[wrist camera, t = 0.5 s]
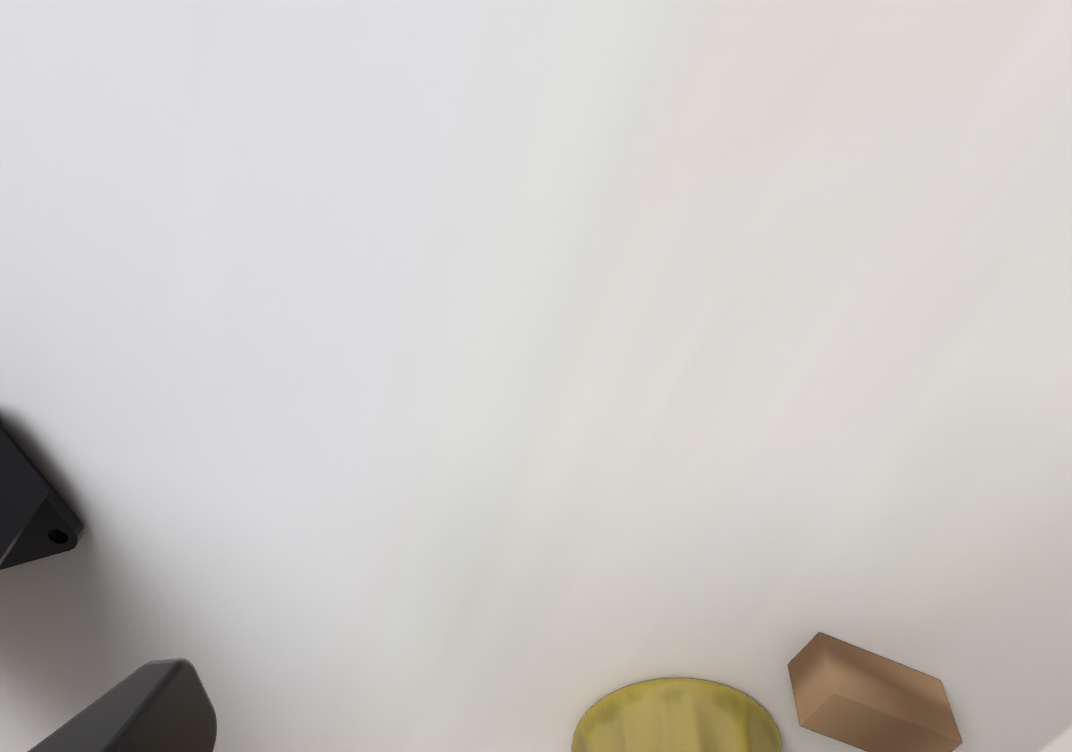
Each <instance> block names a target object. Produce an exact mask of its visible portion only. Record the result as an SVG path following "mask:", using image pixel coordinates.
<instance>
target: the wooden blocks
mask: <svg viewBox="0 0 1072 752" xmlns="http://www.w3.org/2000/svg"><path fill="white" fill-rule="evenodd" d="M788 669H789V674H790V679H791V684H792V689H793V694H794V699H795V704H796V709H797V714H798V719H799V724H800V726H801V727H804V728H806V729H809V730H812V731H814V732H817V733H820V734H822V735H825V736H828V737H830V738H833V739H836V740H839V741H841V742H844V743H847V744H849V745H852V746H855V747H857V748H860V749H863V750H865V751H868V752H952V751H953V750H954V749H955V748H957V747H958V746H959V745H960V744H961V743H963V742H962V739H961V737H960V734H959V731H958V728H957V725H956V722H955V719H954V716H953V714H952V711H951V708H950V705H949V702H948V699H947V696H946V694H945V691H944V688H943V685H942V682H941V680H938V679H936V678H933V677H931V676H928V675H926V674H923V673H921V672H918V671H916V670H913V669H911V668H908V667H906V666H903V665H901V664H898V663H896V662H893V661H891V660H888V659H886V658H883V657H881V656H878V655H876V654H873V653H871V652H868V651H866V650H863V649H861V648H858V647H856V646H853V645H851V644H848V643H846V642H843V641H841V640H838V639H836V638H833V637H831V636H828V635H826V634H823V633H820V632H819V633H818V634H817V635H816V636H815V637H814V638H813V639H812V640H811V641H810V642H809V643H808V644H807V645H806V646H805V647H804V649H803V650H802V651H801V652H800V653H799V654H798V655H797V656H796V657H795V658H794V659H793V660H792V661H791V662H790V663H789V664H788Z"/></svg>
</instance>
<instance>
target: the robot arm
mask: <svg viewBox="0 0 1072 752" xmlns="http://www.w3.org/2000/svg"><path fill="white" fill-rule="evenodd" d="M59 530H61V531H63V532H61V531H59ZM83 533H84V526H83V524H82V522H81V521H80V520H79V518H78V517H77V516H76V515H75V513H74V512H73V511H72V510H71V509H70V507H69V506H68V505H67V504H66V503H65V501H64V500H63V499H62V498H61V496H60V495H59V494H58V493H57V492H56V490H55V489H54V488H53V487H52V486H51V484H50V483H49V482H48V481H47V479H46V478H45V477H44V476H43V475H42V473H41V472H40V471H39V470H38V469H37V467H36V466H35V465H34V464H33V462H32V461H31V460H30V459H29V458H28V456H27V455H26V454H25V453H24V451H23V450H22V449H21V448H20V447H19V445H18V444H17V443H16V442H15V441H14V439H13V438H12V437H11V436H10V434H9V433H8V432H7V431H6V430H5V428H4V427H3V426H2V425H1V424H0V570H1V569H5V568H8V567H12V566H15V565H19V564H22V563H26V562H30V561H33V560H37V559H40V558H44V557H47V556H51V555H55V554H58V553H62V552H65V551H69V550H71V549H73V548H75V546H76V545H77V543H78V542H79V540H80V538H81V537H82V535H83ZM216 734H217V720H216V715H215V711H214V708H213V706H212V704H211V702H210V699H209V697H208V695H207V693H206V691H205V689H204V687H203V685H202V682H201V680H200V678H199V676H198V674H197V672H196V670H195V668H194V666H193V664H192V663H191V662H190V661H188V660H187V659H182V658H179V659H169V660H157V661H151V662H148V663H146V664H145V665H143V666H142V667H140V668H139V669H138V670H136V671H135V672H134V673H132V674H131V675H130V676H128V677H127V678H126V679H124V680H123V681H122V682H120V683H119V684H118V685H116V686H115V687H114V688H112V689H111V690H110V691H108V692H107V693H106V694H104V695H103V696H102V697H100V698H99V699H98V700H96V701H95V702H94V703H92V704H91V705H90V706H88V707H87V708H86V709H84V710H83V711H82V712H80V713H79V714H78V715H76V716H75V717H74V718H72V719H71V720H70V721H68V722H67V723H66V724H64V725H63V726H62V727H60V728H59V729H58V730H56V731H55V732H54V733H52V734H51V735H50V736H48V737H47V738H46V739H44V740H43V741H42V742H40V743H39V744H38V745H36V746H35V747H34V748H32V749H31V750H30V751H28V752H213V749H214V745H215V740H216Z"/></svg>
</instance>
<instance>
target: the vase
mask: <svg viewBox="0 0 1072 752" xmlns="http://www.w3.org/2000/svg"><path fill="white" fill-rule="evenodd" d="M571 751H572V752H781V738H780V735H779V731H778V728H777V726H776V724H775V723H774V721H773V719H772V718H771V716H770V715H769V714H768V712H767V711H766V710H765V709H764V708H763V707H762V706H761V705H759V704H758V703H757V702H756V701H754V700H753V699H752V698H750V697H749V696H747V695H746V694H744V693H742V692H740V691H738V690H736V689H733V688H731V687H728V686H725V685H722V684H718V683H714V682H710V681H705V680H699V679H691V678H664V679H655V680H650V681H645V682H640V683H637V684H633V685H630V686H626V687H623V688H621V689H619V690H617V691H615V692H613V693H611V694H609V695H607V696H606V697H604V698H603V699H601V700H600V701H598V702H597V703H596V704H595V705H593V706H592V707H591V708H590V709H589V710H588V711H587V712H586V713H585V714H584V716H583V717H582V718H581V720H580V722H579V724H578V726H577V728H576V730H575V732H574V736H573V740H572V746H571Z"/></svg>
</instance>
